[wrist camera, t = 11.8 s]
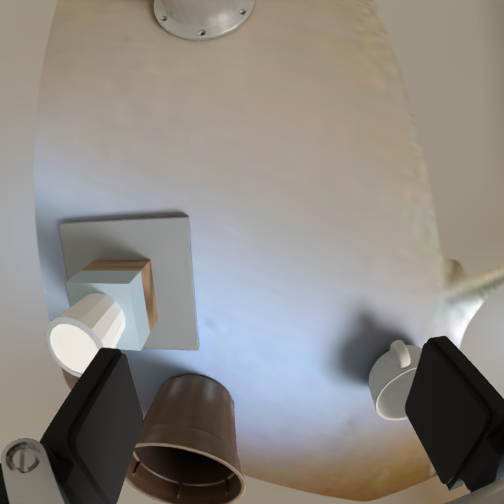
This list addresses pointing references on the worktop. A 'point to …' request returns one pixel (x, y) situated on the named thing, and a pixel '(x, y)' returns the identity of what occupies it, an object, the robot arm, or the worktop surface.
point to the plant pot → (188, 445)
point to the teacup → (393, 379)
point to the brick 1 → (146, 280)
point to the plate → (162, 262)
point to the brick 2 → (123, 292)
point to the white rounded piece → (84, 332)
